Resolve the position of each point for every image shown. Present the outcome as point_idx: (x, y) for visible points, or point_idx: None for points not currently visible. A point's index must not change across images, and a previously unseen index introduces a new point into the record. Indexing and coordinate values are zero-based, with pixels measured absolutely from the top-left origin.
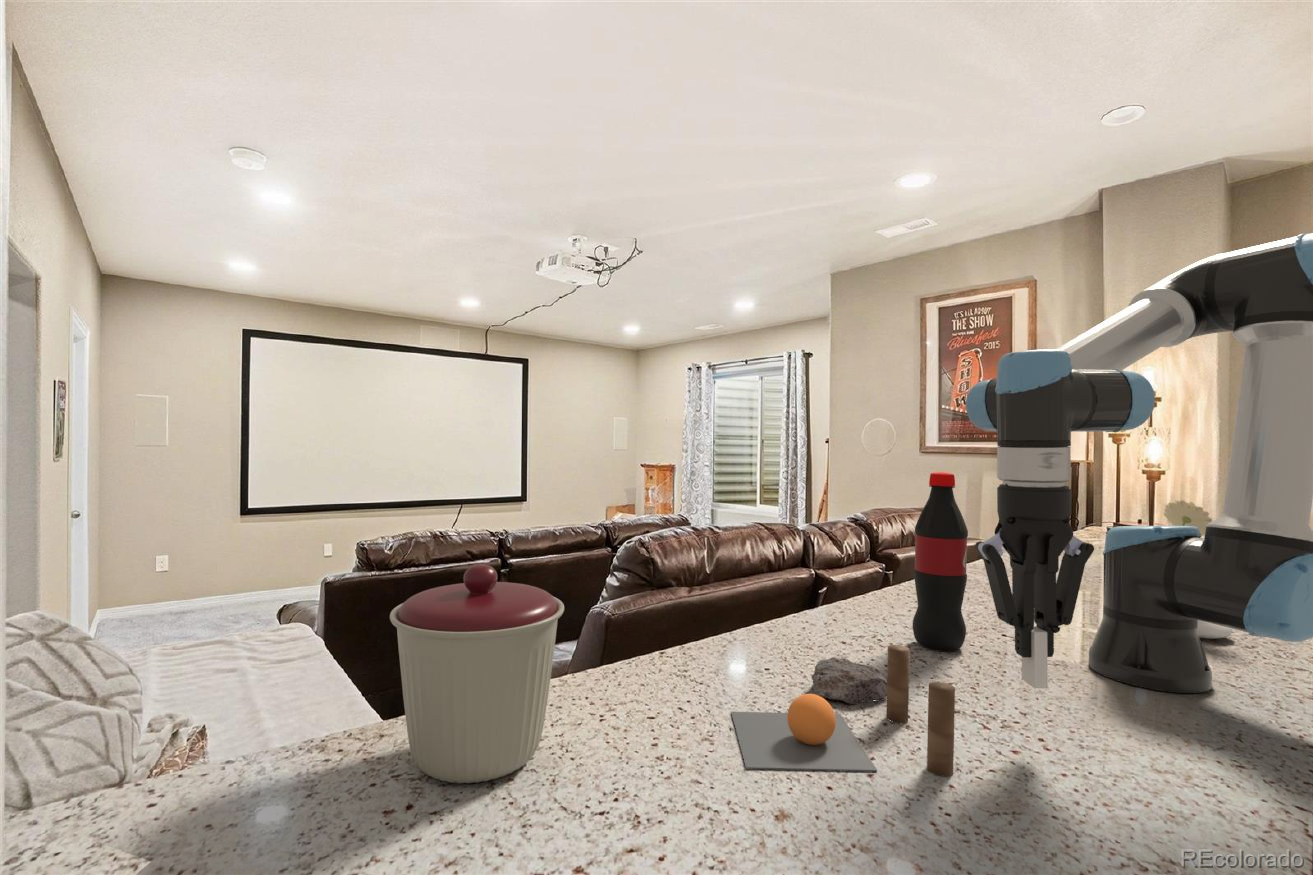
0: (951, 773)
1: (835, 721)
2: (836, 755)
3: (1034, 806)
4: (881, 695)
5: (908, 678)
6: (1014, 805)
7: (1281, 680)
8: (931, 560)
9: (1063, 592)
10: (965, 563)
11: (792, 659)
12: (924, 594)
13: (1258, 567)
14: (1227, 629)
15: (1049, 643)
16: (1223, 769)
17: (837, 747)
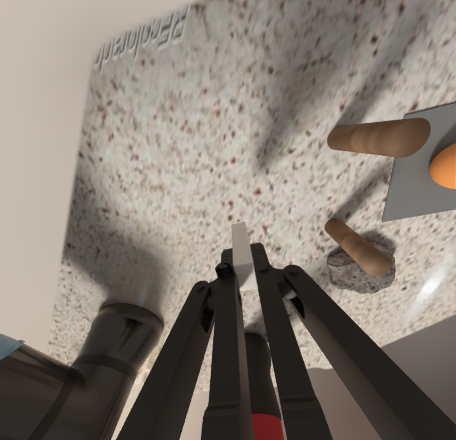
0: (333, 130)
1: (448, 160)
2: (431, 136)
3: (280, 88)
4: (333, 257)
5: (348, 243)
6: (298, 84)
7: (61, 329)
8: (274, 437)
9: (193, 344)
10: None
11: (372, 306)
12: (271, 387)
13: None
14: None
15: (227, 260)
16: (116, 202)
17: (422, 154)
